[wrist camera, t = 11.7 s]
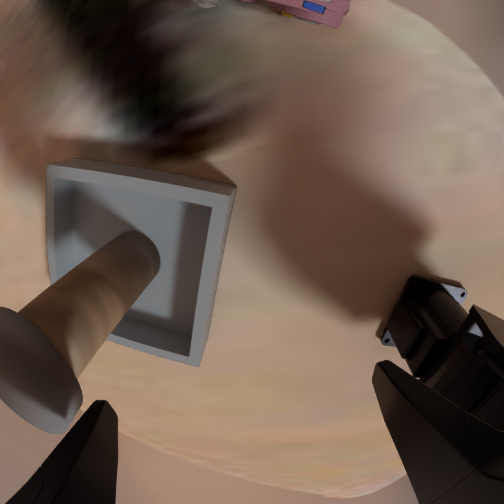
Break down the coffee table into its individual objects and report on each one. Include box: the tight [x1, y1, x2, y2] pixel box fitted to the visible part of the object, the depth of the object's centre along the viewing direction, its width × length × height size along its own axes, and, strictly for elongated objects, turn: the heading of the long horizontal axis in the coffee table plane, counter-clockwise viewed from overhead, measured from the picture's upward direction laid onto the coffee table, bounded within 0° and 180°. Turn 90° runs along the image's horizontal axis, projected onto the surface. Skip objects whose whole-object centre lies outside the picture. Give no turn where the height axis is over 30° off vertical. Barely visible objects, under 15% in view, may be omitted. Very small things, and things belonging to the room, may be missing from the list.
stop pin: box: [0, 231, 161, 434], centre depth 14 cm, size 6×6×14 cm
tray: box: [46, 158, 237, 367], centre depth 20 cm, size 13×13×4 cm
